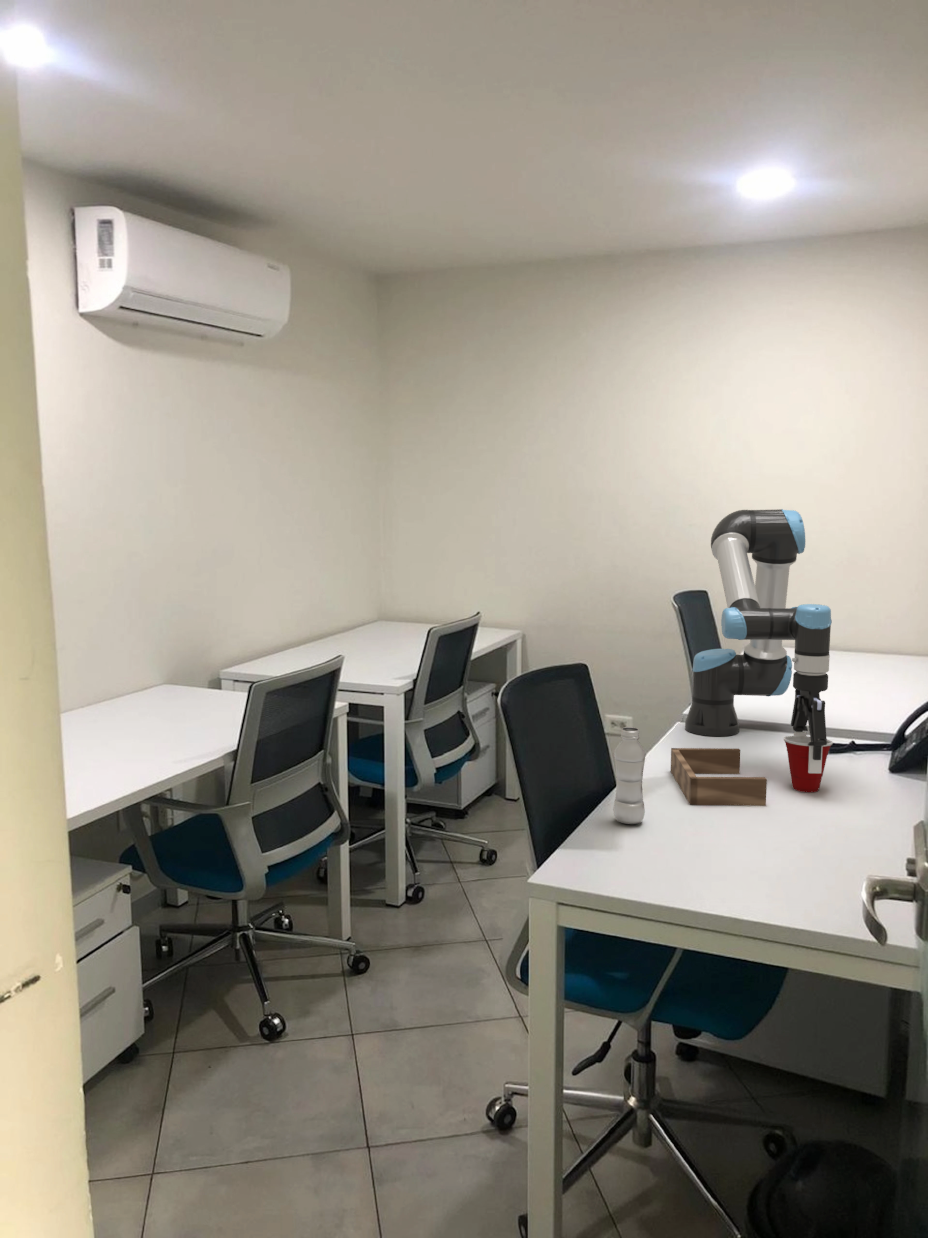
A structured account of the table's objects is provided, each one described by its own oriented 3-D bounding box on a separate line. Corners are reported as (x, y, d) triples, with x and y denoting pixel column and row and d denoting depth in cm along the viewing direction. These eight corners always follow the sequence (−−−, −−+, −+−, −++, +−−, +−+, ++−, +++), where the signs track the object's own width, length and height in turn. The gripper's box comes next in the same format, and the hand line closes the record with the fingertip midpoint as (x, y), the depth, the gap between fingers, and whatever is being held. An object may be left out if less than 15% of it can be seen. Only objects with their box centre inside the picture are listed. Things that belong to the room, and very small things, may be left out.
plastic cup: (832, 785, 224) (834, 735, 222) (828, 798, 214) (831, 746, 212) (783, 779, 228) (785, 730, 226) (778, 792, 218) (780, 741, 217)
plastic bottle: (626, 830, 195) (627, 734, 192) (606, 820, 201) (608, 727, 198) (651, 824, 198) (653, 731, 195) (631, 815, 204) (633, 724, 201)
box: (670, 771, 235) (671, 748, 234) (738, 772, 234) (738, 748, 233) (690, 805, 210) (690, 778, 209) (765, 805, 209) (766, 779, 208)
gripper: (779, 663, 229) (776, 751, 232) (810, 682, 206) (806, 780, 209) (811, 663, 229) (807, 752, 232) (845, 682, 206) (840, 781, 209)
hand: (806, 765), depth 220 cm, fingers closed on plastic cup, 11 cm apart
